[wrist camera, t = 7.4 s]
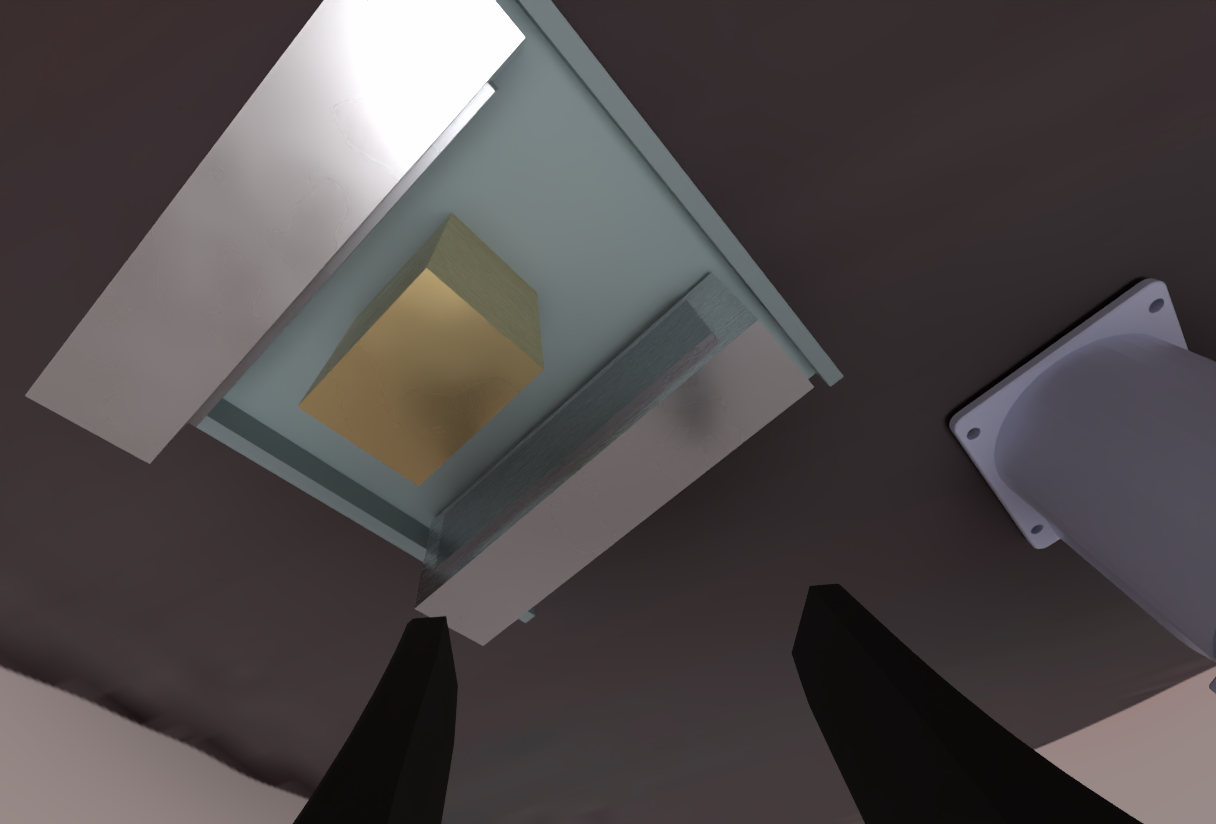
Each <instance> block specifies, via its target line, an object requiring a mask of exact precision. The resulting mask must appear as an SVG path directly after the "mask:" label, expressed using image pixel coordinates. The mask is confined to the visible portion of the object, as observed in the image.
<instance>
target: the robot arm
mask: <svg viewBox="0 0 1216 824" xmlns="http://www.w3.org/2000/svg"><path fill="white" fill-rule="evenodd" d="M949 427H950V430H951V431H952V433H953V434H954V435H955V437H956V438H957V440H958V441H959V443H960V444H961V446H962V447H963V448H964V450H965V451H966V453H967V454H968V456H969V457H970V459H971V460H972V461H973V463H974V464H975V466H976V467H977V469H978V470H979V472H980V473H981V474H982V476H983V477H984V479H985V480H986V482H987V483H988V485H989V486H990V487H991V489H992V490H993V492H994V493H995V495H996V496H997V497H998V499H999V500H1000V502H1001V503H1002V505H1003V506H1004V508H1005V509H1006V510H1007V512H1008V513H1009V515H1010V516H1011V518H1012V519H1013V521H1014V522H1015V523H1016V525H1017V526H1018V528H1019V529H1020V531H1021V532H1022V534H1023V535H1024V536H1025V538H1026V539H1027V541H1028V542H1029V543H1030V544H1031V545H1032V546H1033V547H1035V548H1036V549H1042V548H1046V547H1048V546H1049V545H1051V544H1053V543H1054V542H1056V541H1057V540H1059V539H1062V540H1063V541H1064V542H1065V543H1066V544H1067V545H1069V546H1070V547H1071V548H1072V549H1073V550H1075V551H1076V552H1077V553H1078V554H1079V555H1080V556H1082V557H1083V558H1084V559H1085V560H1086V561H1087V562H1089V563H1090V564H1091V565H1092V566H1093V567H1094V568H1096V569H1097V570H1098V571H1099V572H1100V573H1101V574H1103V575H1104V576H1105V577H1106V578H1107V579H1108V580H1110V581H1111V582H1112V583H1113V584H1114V585H1115V586H1117V587H1118V588H1119V589H1120V590H1121V591H1122V592H1124V593H1125V594H1126V595H1127V596H1128V597H1130V598H1131V599H1132V600H1133V601H1134V602H1135V603H1137V604H1138V605H1139V606H1140V607H1141V608H1142V609H1144V610H1145V611H1146V612H1147V613H1148V614H1149V615H1151V616H1152V617H1153V618H1154V619H1155V620H1156V621H1158V622H1159V623H1160V624H1161V625H1162V626H1163V627H1165V628H1166V629H1167V630H1168V631H1169V632H1170V633H1172V634H1173V635H1174V636H1175V637H1176V638H1178V639H1179V640H1180V641H1182V642H1183V643H1184V644H1186V645H1187V646H1189V647H1190V648H1191V649H1193V650H1195V651H1196V652H1198V653H1200V654H1202V655H1204V656H1206V657H1207V658H1209V659H1212V660H1214V661H1215V662H1216V362H1215V361H1213V360H1210V359H1208V358H1206V357H1203V356H1201V355H1198V354H1196V353H1193V352H1191V351H1188V348H1187V345H1186V342H1185V339H1184V336H1183V333H1182V330H1181V327H1180V325H1179V322H1178V319H1177V316H1176V313H1175V310H1174V307H1173V304H1172V301H1171V298H1170V295H1169V293H1168V290H1167V287H1166V285H1165V283H1164V282H1162V281H1159V280H1156V279H1152V278H1149V279H1145V280H1143V281H1141V282H1139V283H1138V284H1136V285H1135V286H1134V287H1132V288H1131V289H1129V290H1128V291H1127V292H1125V293H1124V294H1122V295H1121V296H1120V297H1118V298H1117V299H1115V300H1114V301H1113V302H1111V303H1110V304H1108V305H1107V306H1106V307H1104V308H1103V309H1101V310H1100V311H1099V312H1097V313H1096V314H1094V315H1093V316H1092V317H1090V318H1089V319H1087V320H1086V321H1085V322H1083V323H1082V324H1080V325H1079V326H1078V327H1076V328H1075V329H1073V330H1072V331H1071V332H1069V333H1068V334H1066V335H1065V336H1064V337H1062V338H1061V339H1059V340H1058V341H1057V342H1055V343H1054V344H1052V345H1051V346H1050V347H1048V348H1047V349H1045V350H1044V351H1043V352H1041V353H1040V354H1038V355H1037V356H1036V357H1034V358H1033V359H1031V360H1030V361H1029V362H1027V363H1026V364H1024V365H1023V366H1022V367H1020V368H1019V369H1017V370H1016V371H1015V372H1013V373H1012V374H1010V375H1009V376H1008V377H1006V378H1005V379H1003V380H1002V381H1001V382H999V383H998V384H996V385H995V386H994V387H992V388H991V389H989V390H988V391H987V392H985V393H984V394H982V395H981V396H980V397H978V398H977V399H975V400H974V401H973V402H971V403H970V404H969V405H967V406H966V407H964V408H963V409H962V410H960V411H959V412H957V413H956V414H955V415H954V416H953V417H952V419H951V420H950V424H949ZM971 429H972V430H971ZM970 430H971V431H970ZM969 431H970V432H969ZM968 432H969V433H968ZM792 656H793V659H794V662H795V665H796V668H797V671H798V674H799V677H800V680H801V683H802V686H803V689H804V692H805V694H806V697H807V700H808V703H809V705H810V708H811V710H812V712H813V714H814V716H815V719H816V721H817V723H818V725H819V727H820V729H821V731H822V734H823V736H824V738H825V740H826V742H827V744H828V746H829V749H830V751H831V753H832V755H833V757H834V759H835V761H836V763H837V765H838V767H839V770H840V772H841V774H842V776H843V778H844V780H845V782H846V784H847V786H848V789H849V791H850V793H851V795H852V797H853V799H854V801H855V803H856V805H857V807H858V810H859V812H860V814H861V816H862V818H863V820H864V822H865V824H1143V823H1141V822H1140V821H1138V820H1136V819H1135V818H1133V817H1132V816H1130V815H1129V814H1127V813H1125V812H1124V811H1123V810H1121V809H1119V808H1118V807H1116V806H1115V805H1113V804H1112V803H1110V802H1109V801H1107V800H1106V799H1104V798H1102V797H1101V796H1100V795H1098V794H1096V793H1095V792H1093V791H1092V790H1090V789H1089V788H1087V787H1086V786H1084V785H1083V784H1081V783H1080V782H1078V781H1077V780H1075V779H1074V778H1073V777H1071V776H1069V775H1068V774H1066V773H1065V772H1064V771H1062V770H1061V769H1059V768H1058V767H1056V766H1055V765H1054V764H1052V763H1051V762H1050V761H1048V760H1047V759H1046V758H1044V757H1043V756H1041V755H1040V754H1039V753H1037V752H1036V751H1035V750H1033V749H1032V748H1030V747H1029V746H1028V745H1026V744H1025V743H1023V742H1022V741H1021V740H1019V739H1018V738H1017V737H1015V736H1014V735H1013V734H1011V733H1010V732H1009V731H1007V730H1006V729H1005V728H1003V727H1002V726H1001V725H1000V724H998V723H997V722H996V721H994V720H993V719H992V718H991V717H989V716H988V715H987V714H986V713H984V712H983V711H982V710H981V709H980V708H978V707H977V706H976V705H975V704H973V703H972V702H971V701H970V700H968V699H967V698H966V697H965V696H963V695H962V694H961V693H960V692H959V691H957V690H956V689H955V688H954V687H953V686H951V685H950V684H949V683H948V682H947V681H946V680H944V679H943V678H942V677H941V676H940V675H939V674H937V673H936V672H935V671H934V670H933V669H932V668H930V667H929V666H928V665H927V664H926V663H925V662H924V661H922V660H921V659H920V658H919V657H918V656H917V655H916V654H915V653H913V652H912V651H911V650H910V649H909V648H908V647H907V646H906V645H905V644H903V643H902V642H901V641H900V640H899V639H898V638H897V637H896V636H895V635H894V634H892V633H891V632H890V631H889V630H888V629H887V628H886V627H885V626H884V625H883V624H882V623H881V622H879V621H878V620H877V619H876V618H875V617H874V616H873V615H872V614H871V613H870V612H869V611H868V610H867V609H865V608H864V607H863V606H862V605H861V604H860V603H859V602H858V601H857V600H856V599H855V598H854V597H852V596H851V595H850V594H849V593H848V592H847V591H846V590H845V589H844V588H843V587H841V586H840V585H839V584H829V585H817V586H810V588H809V591H808V595H807V599H806V602H805V606H804V610H803V613H802V617H801V621H800V625H799V628H798V632H797V636H796V639H795V643H794V647H793V650H792ZM457 688H458V685H457V679H456V672H455V666H454V660H453V654H452V648H451V642H450V636H449V630H448V624H447V618H446V616H440V617H428V618H416V619H412V620H411V621H410V622H409V623H408V624H407V626H406V628H405V631H404V633H403V635H402V638H401V640H400V642H399V644H398V646H397V648H396V650H395V653H394V655H393V657H392V659H391V661H390V663H389V665H388V667H387V669H386V671H385V673H384V674H383V676H382V678H381V680H380V682H379V684H378V686H377V688H376V690H375V692H374V693H373V695H372V697H371V699H370V700H369V702H368V704H367V706H366V708H365V709H364V711H363V713H362V715H361V716H360V718H359V720H358V722H357V723H356V725H355V727H354V729H353V731H352V732H351V734H350V736H349V737H348V739H347V741H346V742H345V744H344V746H343V747H342V749H341V750H340V752H339V753H338V755H337V757H336V758H335V760H334V761H333V763H332V765H331V766H330V768H329V769H328V771H327V773H326V774H325V776H324V777H323V779H322V781H321V782H320V784H319V785H318V787H317V788H316V790H315V792H314V793H313V795H312V796H311V798H310V799H309V801H308V802H307V804H306V805H305V806H304V808H303V810H302V811H301V813H300V814H299V815H298V817H297V818H296V820H295V821H294V823H293V824H441V821H442V815H443V808H444V802H445V796H446V790H447V784H448V778H449V771H450V765H451V759H452V753H453V746H454V736H455V721H456V705H457ZM1209 688H1210V689H1211V690H1212V691H1213V692H1214V693H1216V677H1215V679H1214V680H1213V681H1212V682H1211V683H1210V685H1209Z"/></svg>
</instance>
